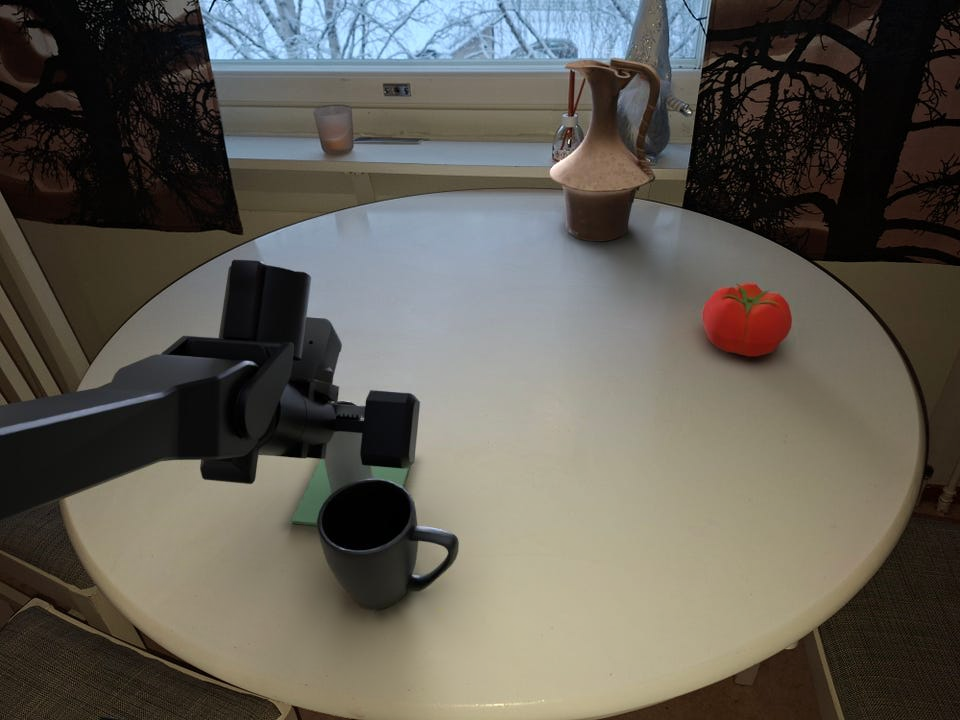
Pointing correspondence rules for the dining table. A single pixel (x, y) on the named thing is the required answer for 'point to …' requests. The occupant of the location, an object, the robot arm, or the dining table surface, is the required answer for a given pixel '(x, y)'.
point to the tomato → (746, 319)
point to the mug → (377, 542)
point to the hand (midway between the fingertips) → (339, 428)
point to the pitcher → (605, 155)
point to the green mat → (321, 491)
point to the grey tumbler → (345, 456)
